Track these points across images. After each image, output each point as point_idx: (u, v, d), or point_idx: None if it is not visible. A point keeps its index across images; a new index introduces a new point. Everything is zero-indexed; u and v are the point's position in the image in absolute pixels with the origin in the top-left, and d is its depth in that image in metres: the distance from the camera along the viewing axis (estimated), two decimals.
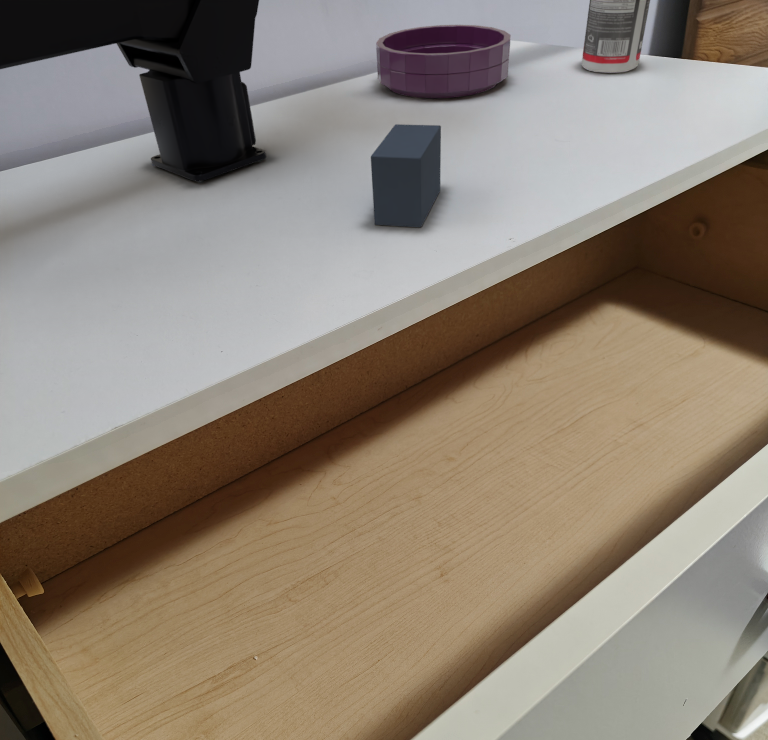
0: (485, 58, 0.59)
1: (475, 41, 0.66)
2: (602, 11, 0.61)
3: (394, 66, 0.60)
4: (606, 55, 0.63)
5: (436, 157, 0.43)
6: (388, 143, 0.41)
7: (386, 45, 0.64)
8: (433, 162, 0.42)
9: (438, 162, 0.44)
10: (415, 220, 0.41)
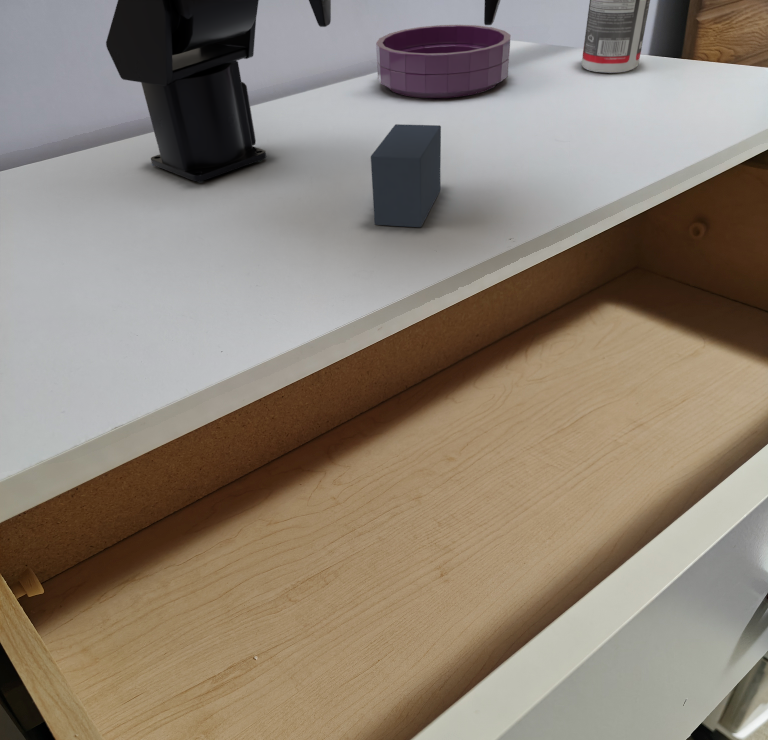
0: (485, 58, 0.59)
1: (475, 41, 0.66)
2: (602, 11, 0.61)
3: (394, 66, 0.60)
4: (606, 55, 0.63)
5: (436, 157, 0.43)
6: (388, 143, 0.41)
7: (386, 45, 0.64)
8: (433, 162, 0.42)
9: (438, 162, 0.44)
10: (415, 220, 0.41)
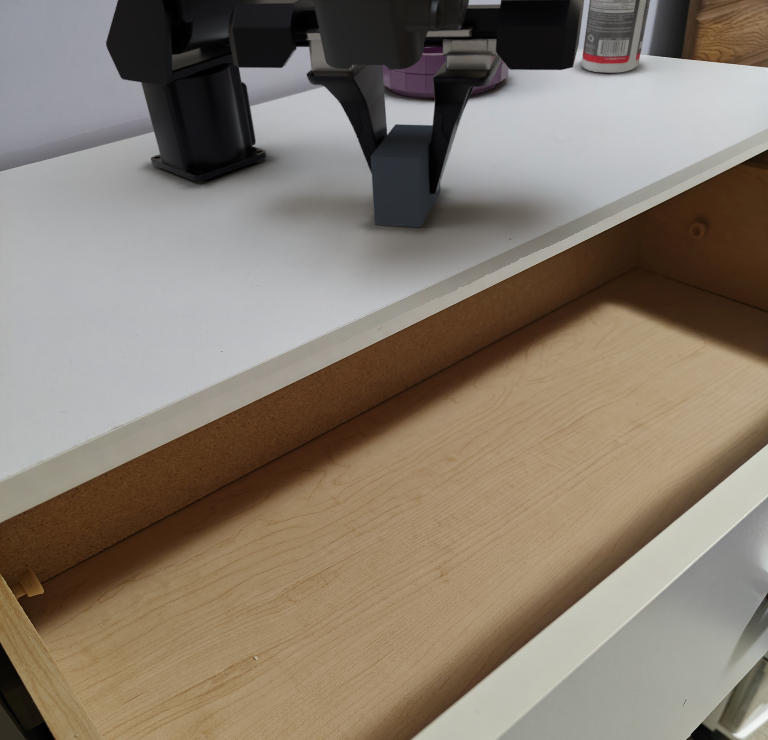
0: None
1: None
2: (602, 11, 0.61)
3: None
4: (606, 55, 0.63)
5: None
6: (388, 143, 0.41)
7: None
8: None
9: None
10: (415, 220, 0.41)
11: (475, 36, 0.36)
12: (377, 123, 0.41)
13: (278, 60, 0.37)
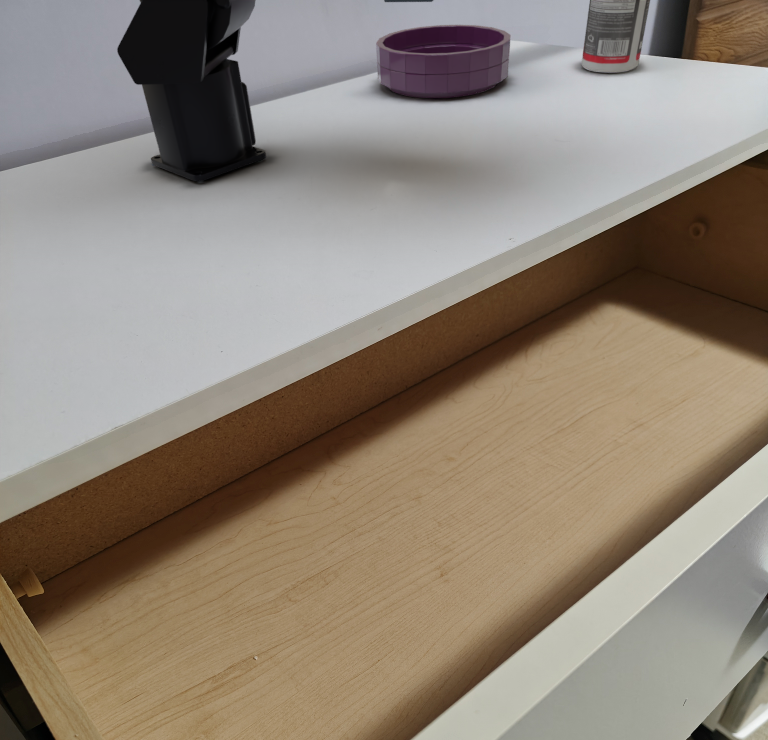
0: (485, 58, 0.59)
1: (475, 41, 0.66)
2: (602, 11, 0.61)
3: (394, 66, 0.60)
4: (607, 55, 0.63)
5: None
6: None
7: (386, 45, 0.64)
8: None
9: None
10: None
11: None
12: None
13: None
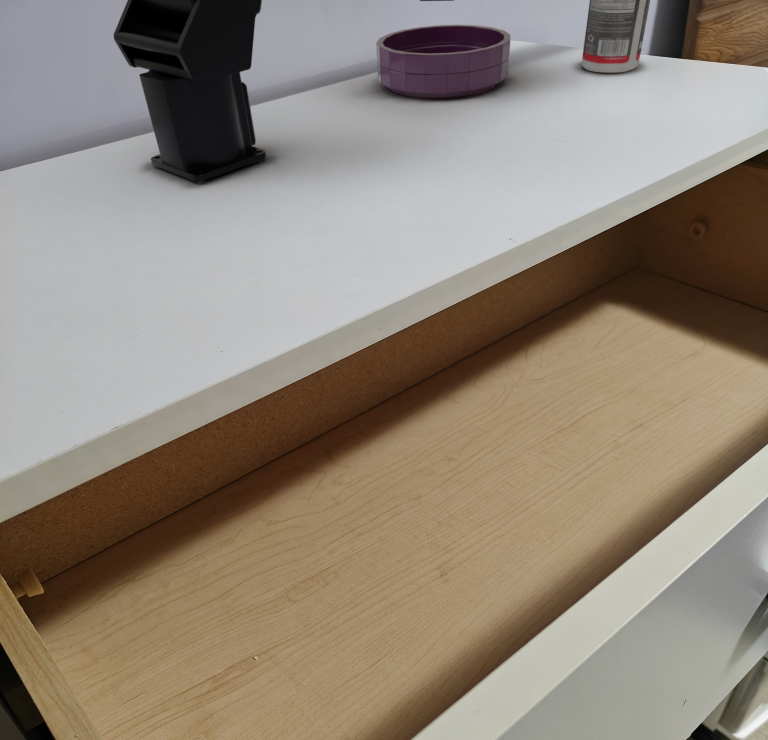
0: (485, 58, 0.59)
1: (475, 41, 0.66)
2: (602, 11, 0.61)
3: (394, 66, 0.60)
4: (606, 55, 0.63)
5: None
6: None
7: (386, 45, 0.64)
8: None
9: None
10: None
11: None
12: None
13: None
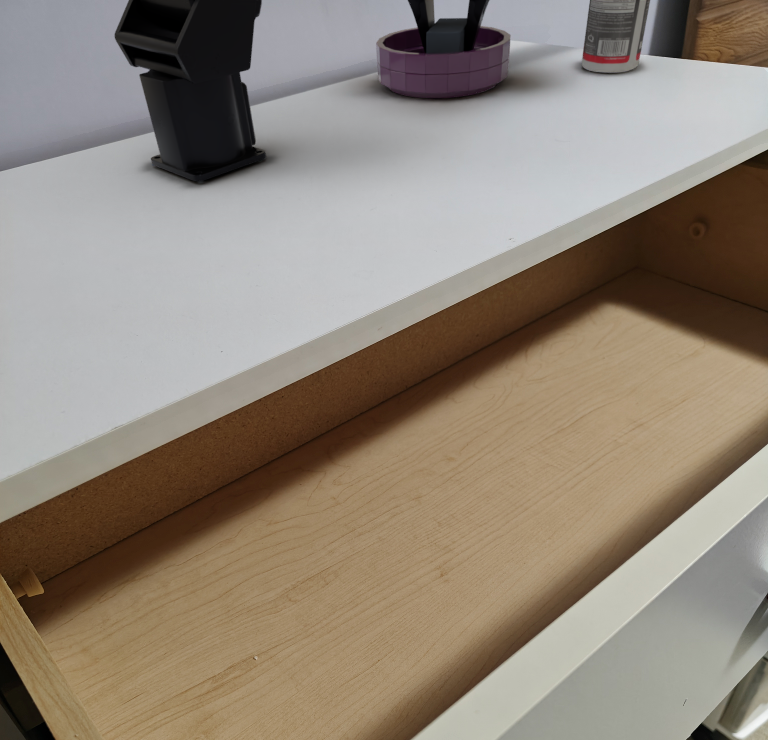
0: (485, 58, 0.59)
1: None
2: (602, 11, 0.61)
3: (394, 66, 0.60)
4: (606, 55, 0.63)
5: None
6: (437, 26, 0.61)
7: (386, 45, 0.64)
8: None
9: None
10: None
11: None
12: (429, 13, 0.61)
13: None
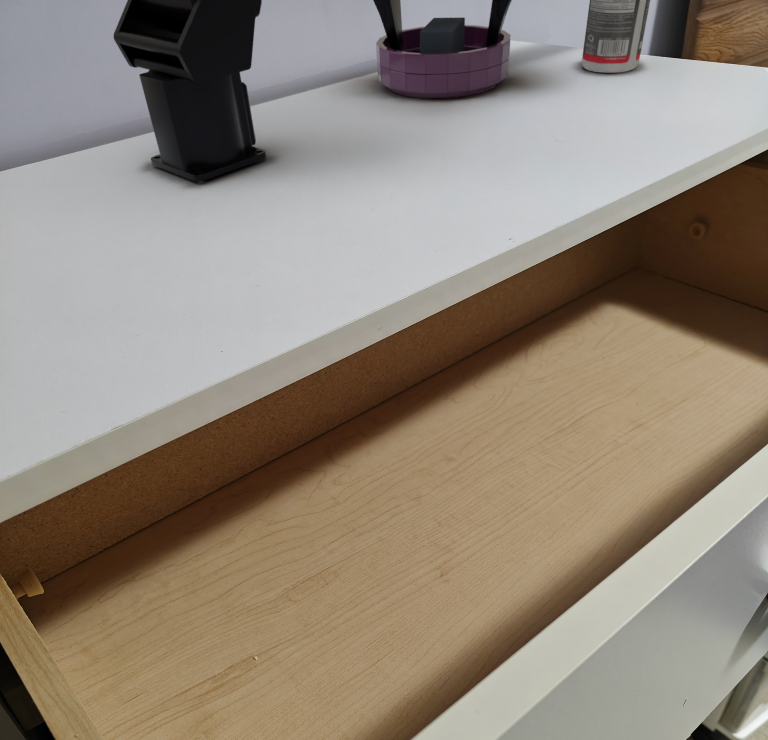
0: (485, 58, 0.59)
1: (475, 41, 0.66)
2: (602, 11, 0.61)
3: (394, 66, 0.60)
4: (606, 55, 0.63)
5: (461, 39, 0.63)
6: (430, 26, 0.61)
7: (386, 45, 0.64)
8: (460, 41, 0.63)
9: (462, 44, 0.64)
10: None
11: None
12: (395, 13, 0.62)
13: None
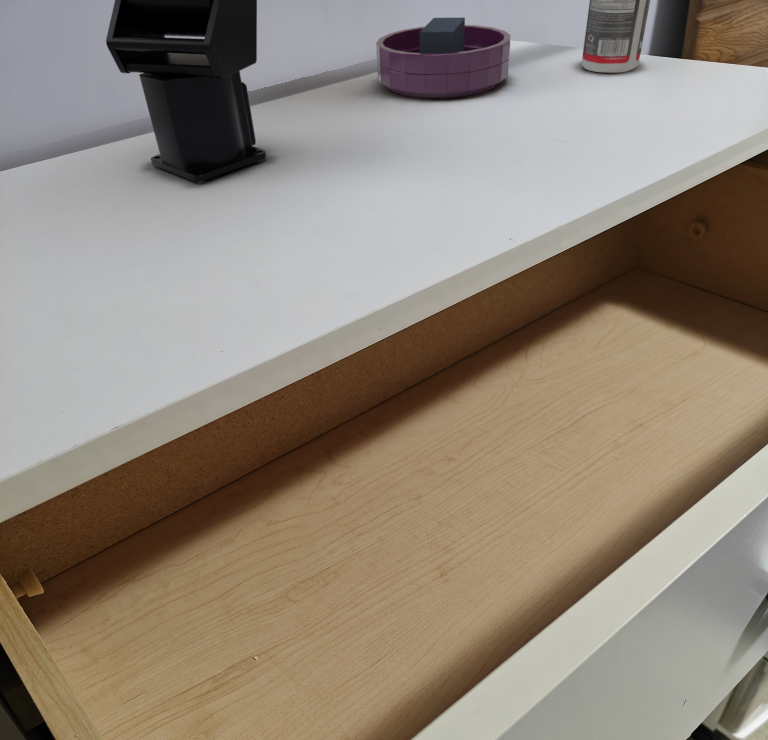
0: (485, 58, 0.59)
1: (475, 41, 0.66)
2: (602, 11, 0.61)
3: (394, 66, 0.60)
4: (606, 55, 0.63)
5: (461, 39, 0.63)
6: (430, 26, 0.61)
7: (386, 45, 0.64)
8: (460, 41, 0.63)
9: (462, 44, 0.64)
10: None
11: None
12: None
13: None
